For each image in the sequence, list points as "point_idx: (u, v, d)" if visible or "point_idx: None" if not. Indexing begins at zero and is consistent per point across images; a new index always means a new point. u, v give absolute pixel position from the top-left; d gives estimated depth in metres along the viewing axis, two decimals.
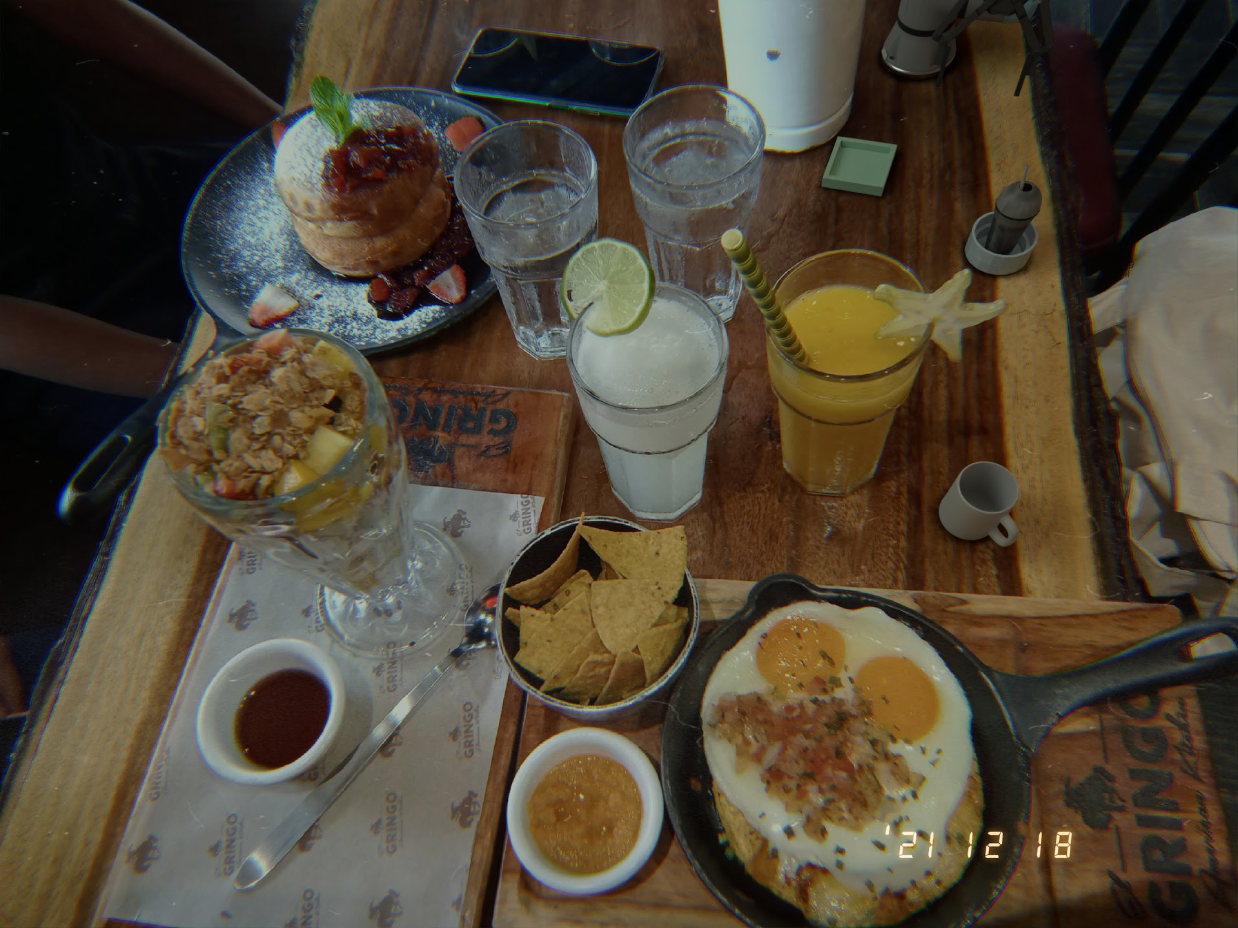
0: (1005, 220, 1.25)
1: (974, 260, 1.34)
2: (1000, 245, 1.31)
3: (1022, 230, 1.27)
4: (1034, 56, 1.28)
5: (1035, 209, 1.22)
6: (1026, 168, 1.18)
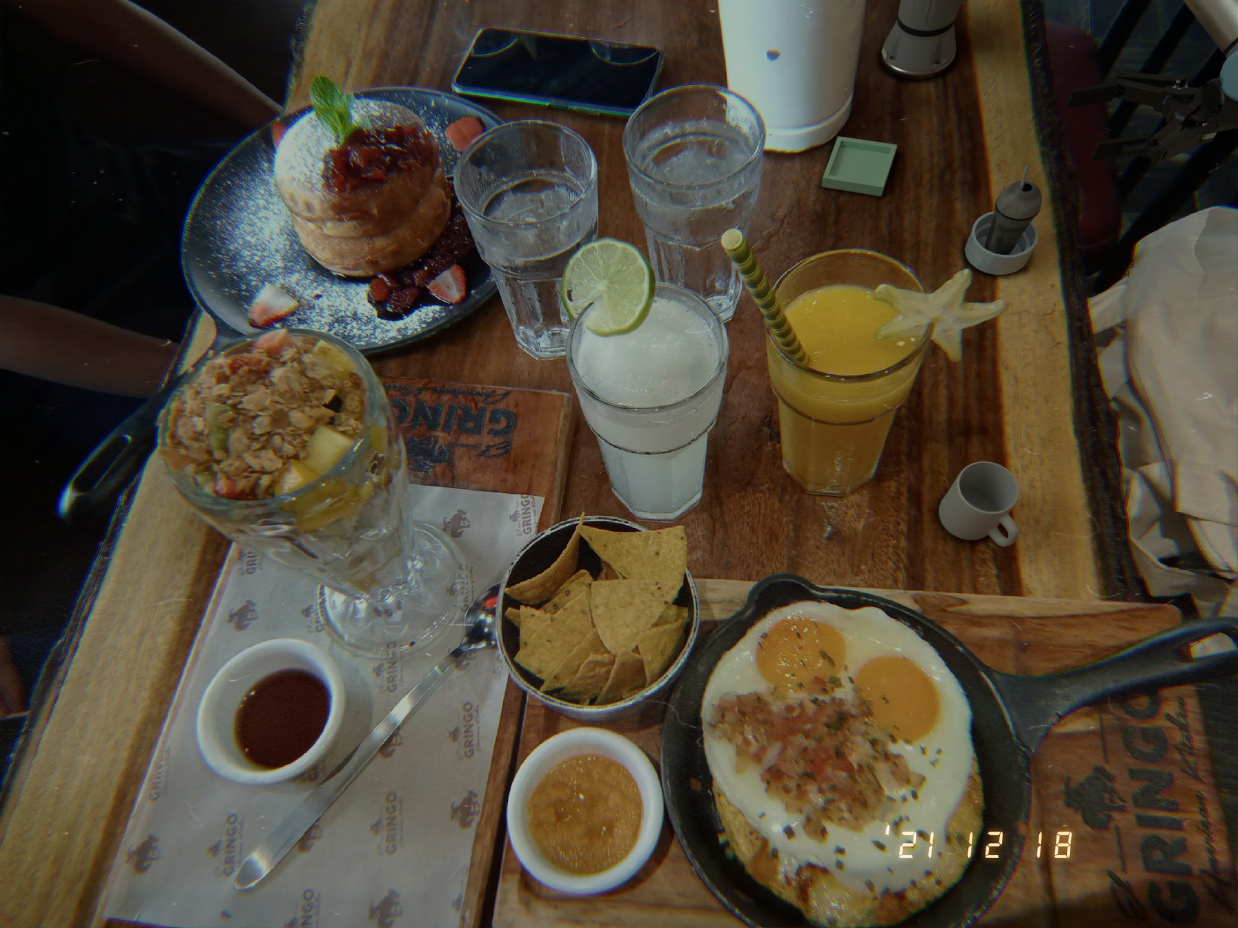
0: (1005, 220, 1.25)
1: (974, 260, 1.34)
2: (1000, 245, 1.31)
3: (1022, 230, 1.27)
4: None
5: (1035, 209, 1.22)
6: (1026, 168, 1.18)
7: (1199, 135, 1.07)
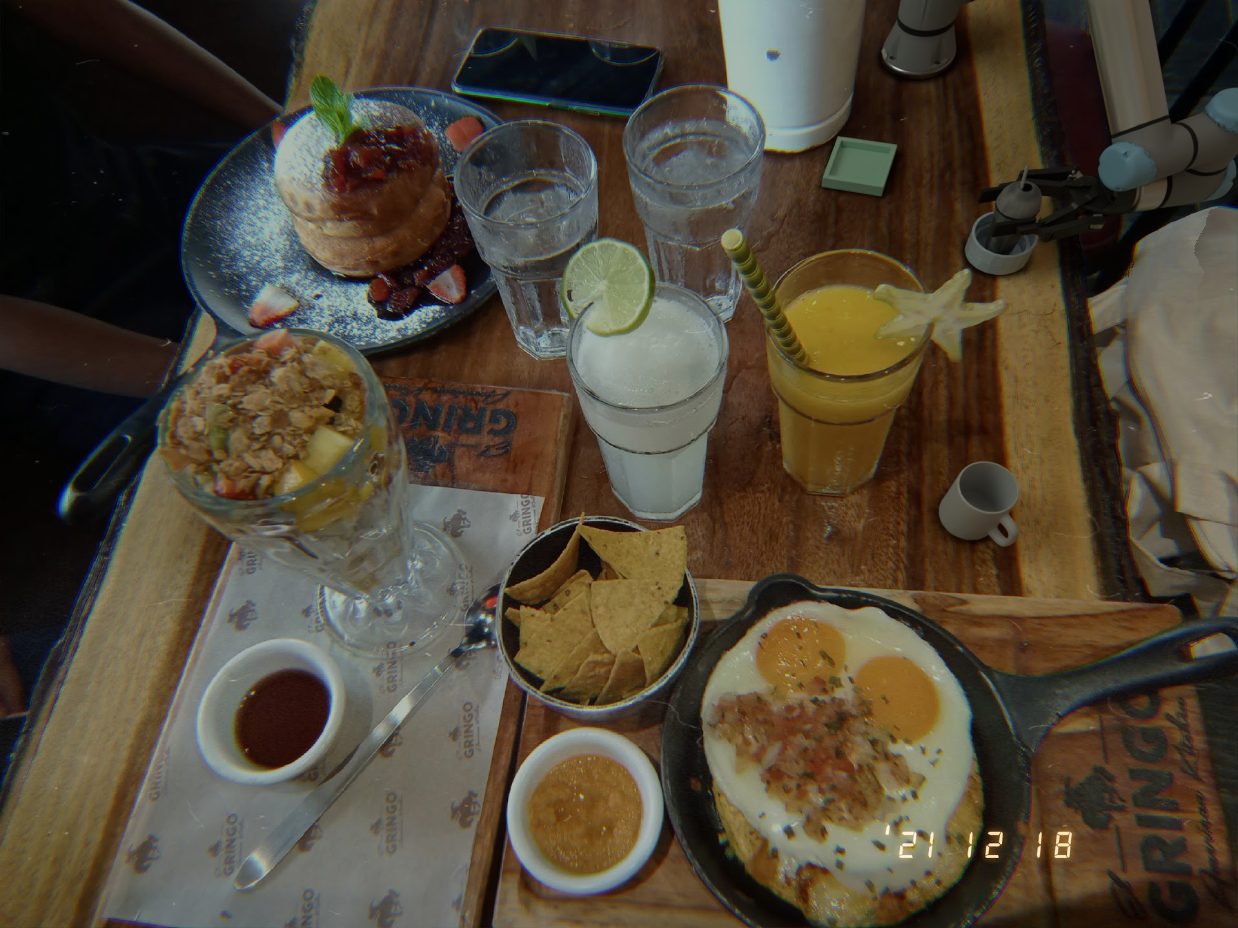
0: (1005, 220, 1.25)
1: (974, 260, 1.34)
2: (1000, 245, 1.31)
3: None
4: None
5: (1035, 209, 1.22)
6: (1026, 168, 1.18)
7: (1087, 224, 1.22)
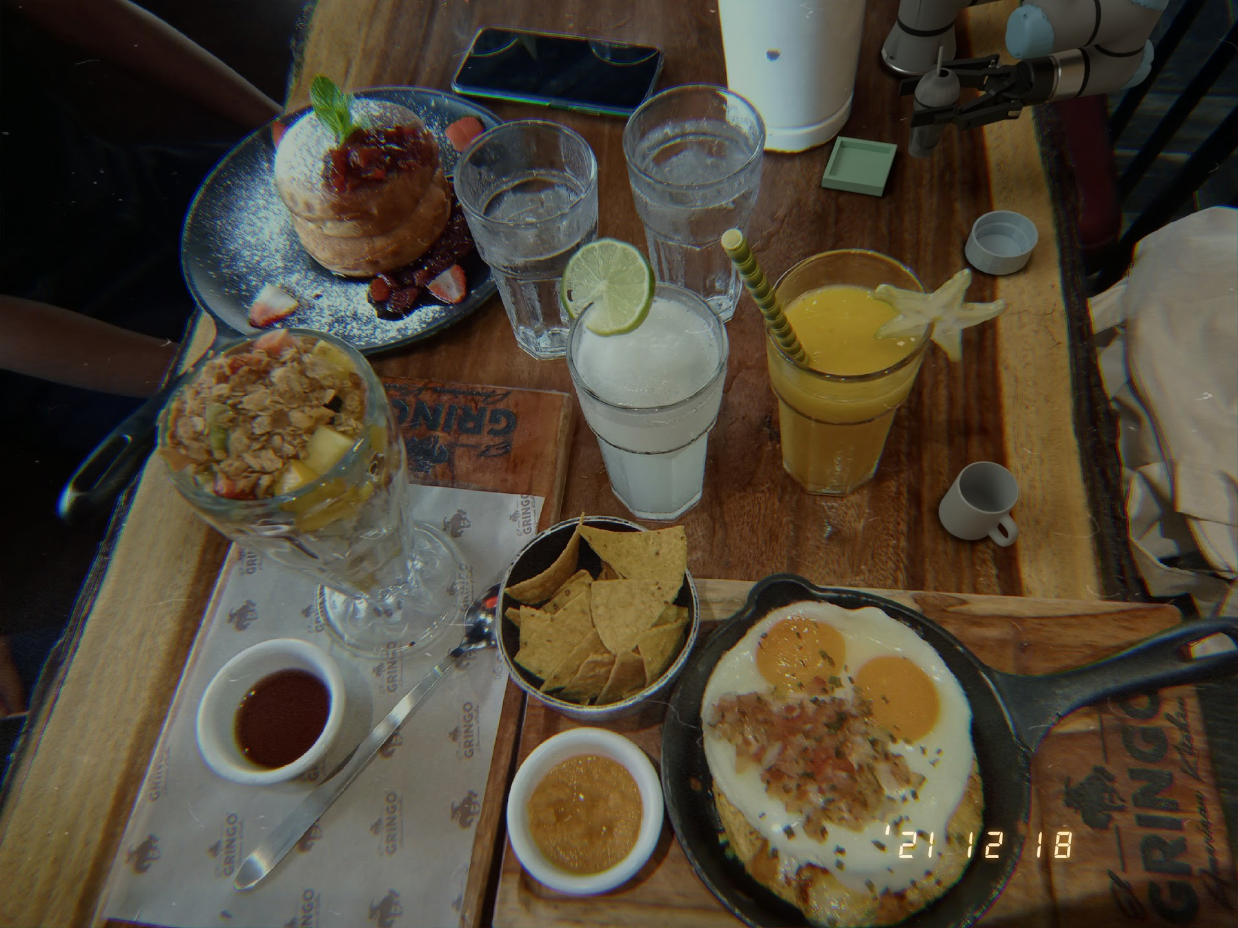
0: None
1: (974, 260, 1.34)
2: (922, 140, 1.29)
3: None
4: None
5: (952, 96, 1.20)
6: (940, 51, 1.16)
7: (1004, 111, 1.20)
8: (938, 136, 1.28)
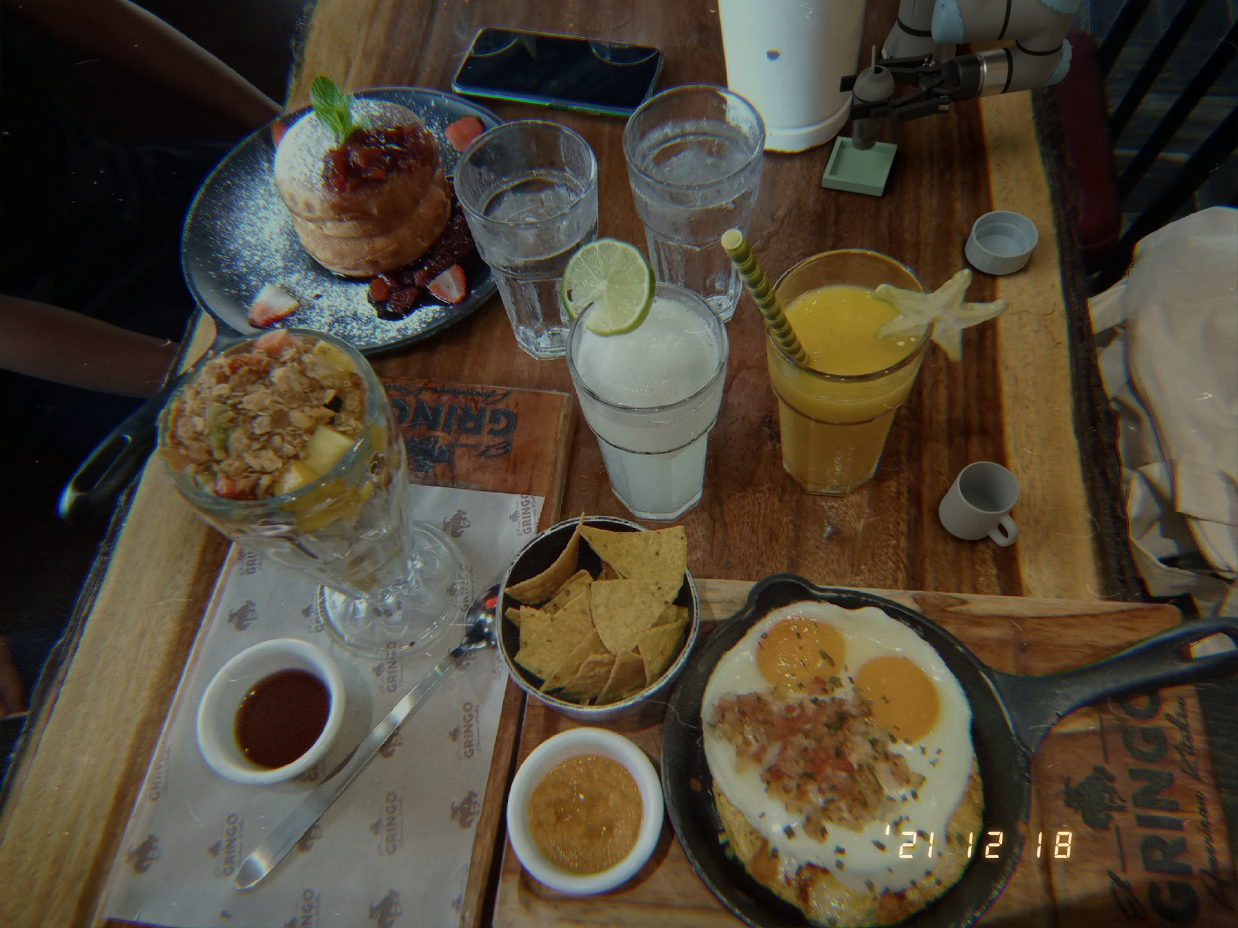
0: None
1: (974, 260, 1.34)
2: (862, 133, 1.38)
3: None
4: None
5: (886, 91, 1.30)
6: (873, 49, 1.26)
7: (934, 105, 1.29)
8: (877, 129, 1.38)
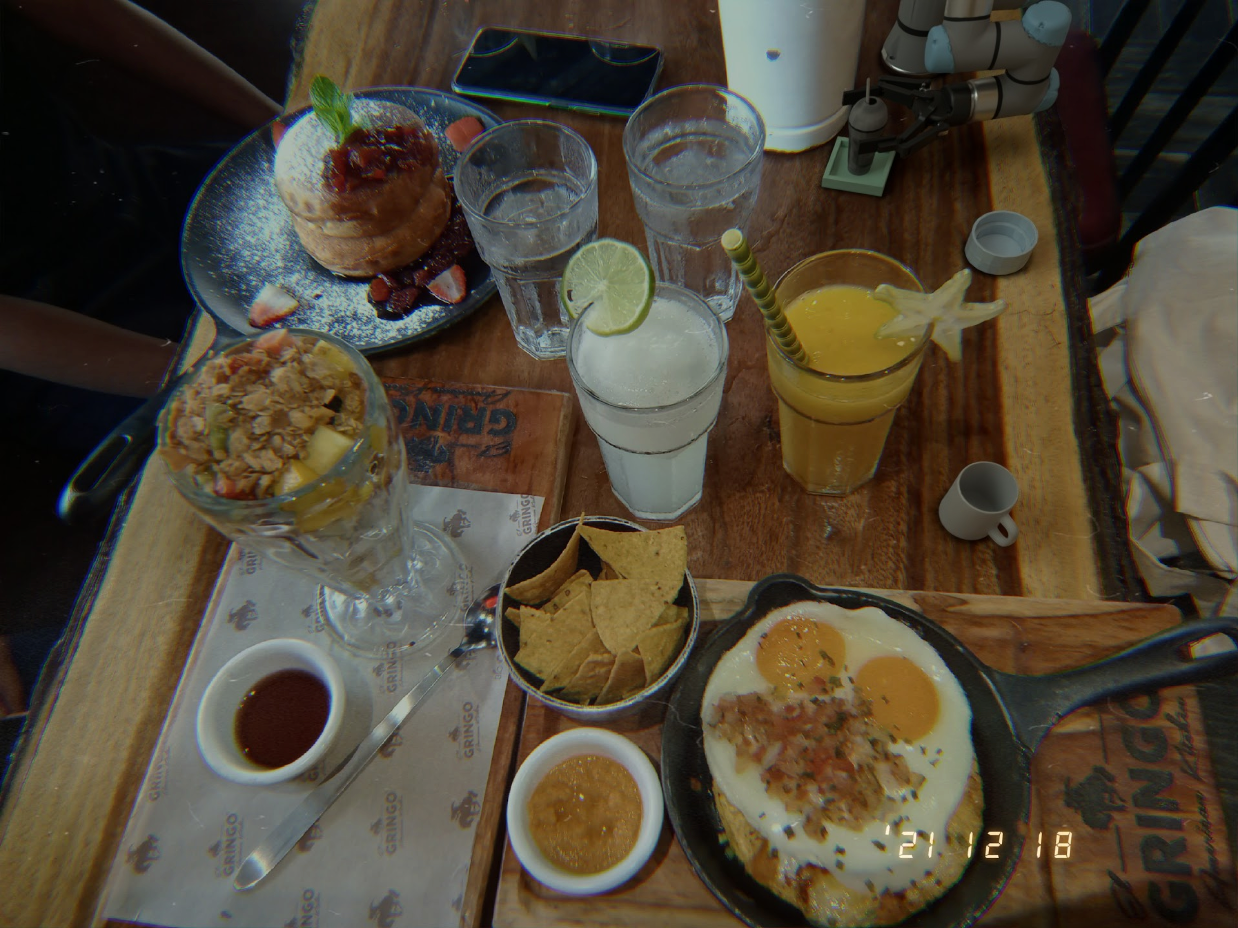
0: (856, 133, 1.38)
1: (974, 260, 1.34)
2: (857, 159, 1.44)
3: None
4: None
5: (880, 121, 1.36)
6: (867, 82, 1.32)
7: (935, 133, 1.34)
8: (872, 156, 1.44)
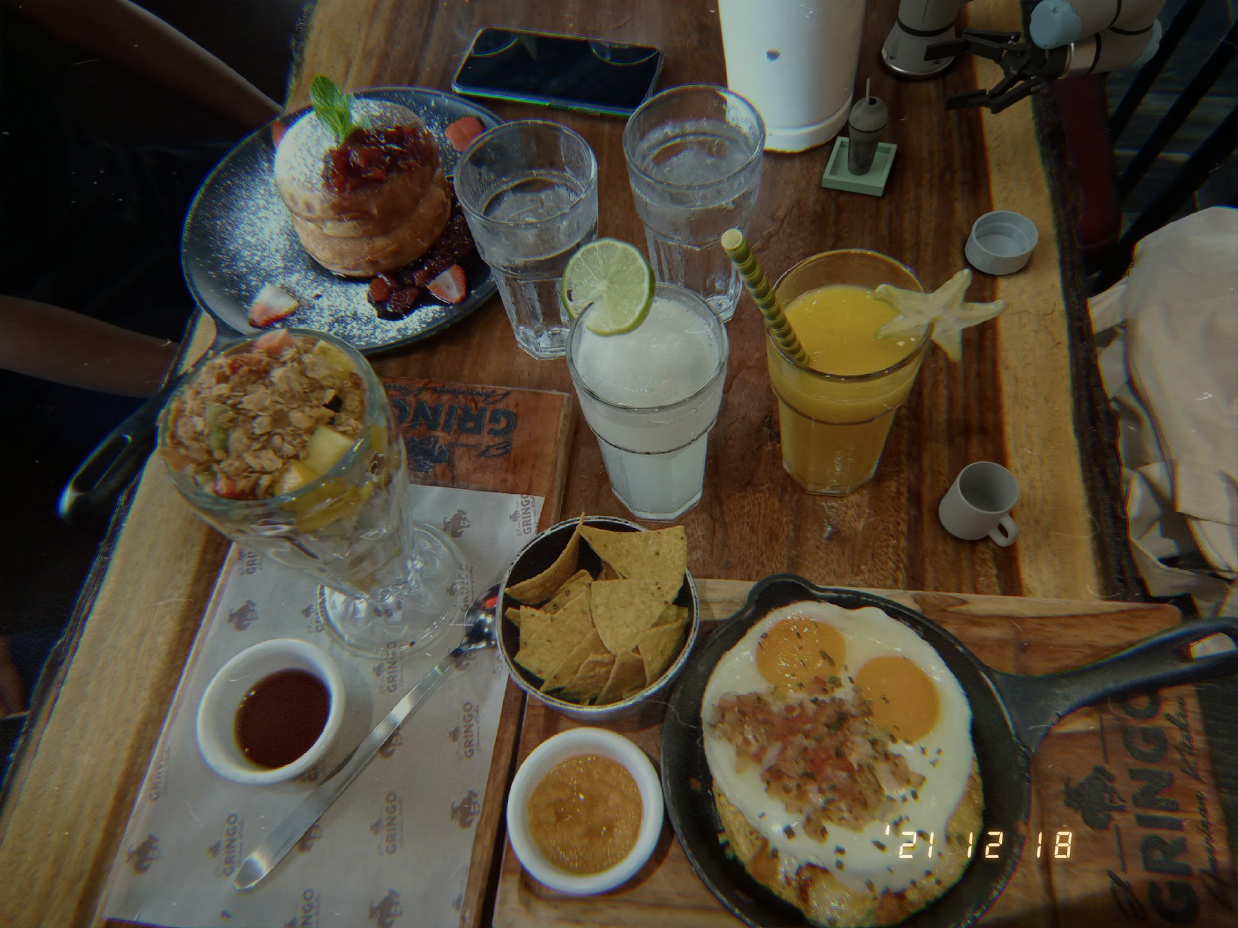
0: (856, 133, 1.38)
1: (974, 260, 1.34)
2: (857, 159, 1.44)
3: (874, 143, 1.40)
4: None
5: (880, 121, 1.36)
6: (867, 82, 1.32)
7: (1028, 87, 1.26)
8: (872, 156, 1.44)
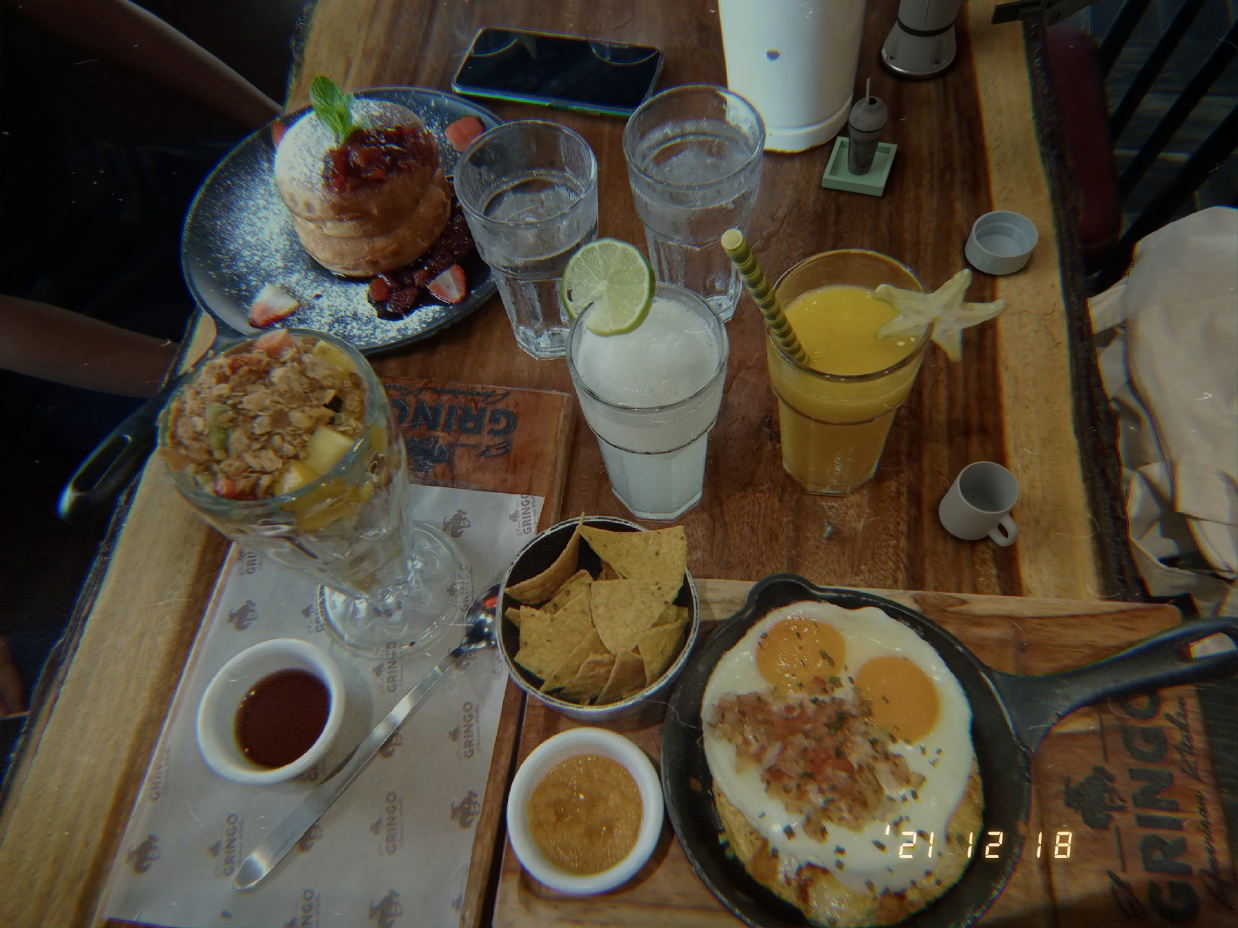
0: (856, 133, 1.38)
1: (974, 260, 1.34)
2: (857, 159, 1.44)
3: (874, 143, 1.40)
4: None
5: (880, 121, 1.36)
6: (867, 82, 1.32)
7: None
8: (872, 156, 1.44)
